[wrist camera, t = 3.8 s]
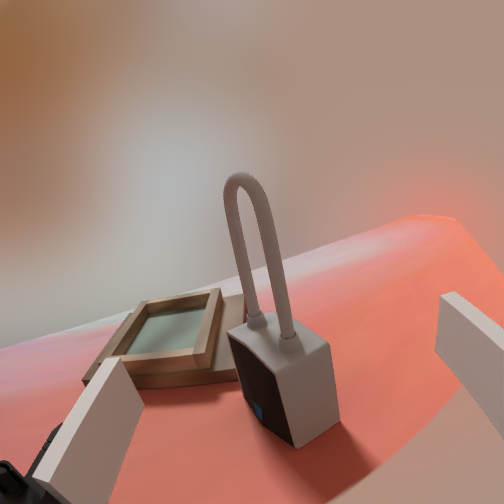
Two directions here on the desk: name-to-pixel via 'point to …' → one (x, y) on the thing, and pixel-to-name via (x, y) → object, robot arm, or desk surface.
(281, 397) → the padlock
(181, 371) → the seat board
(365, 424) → the desk surface
